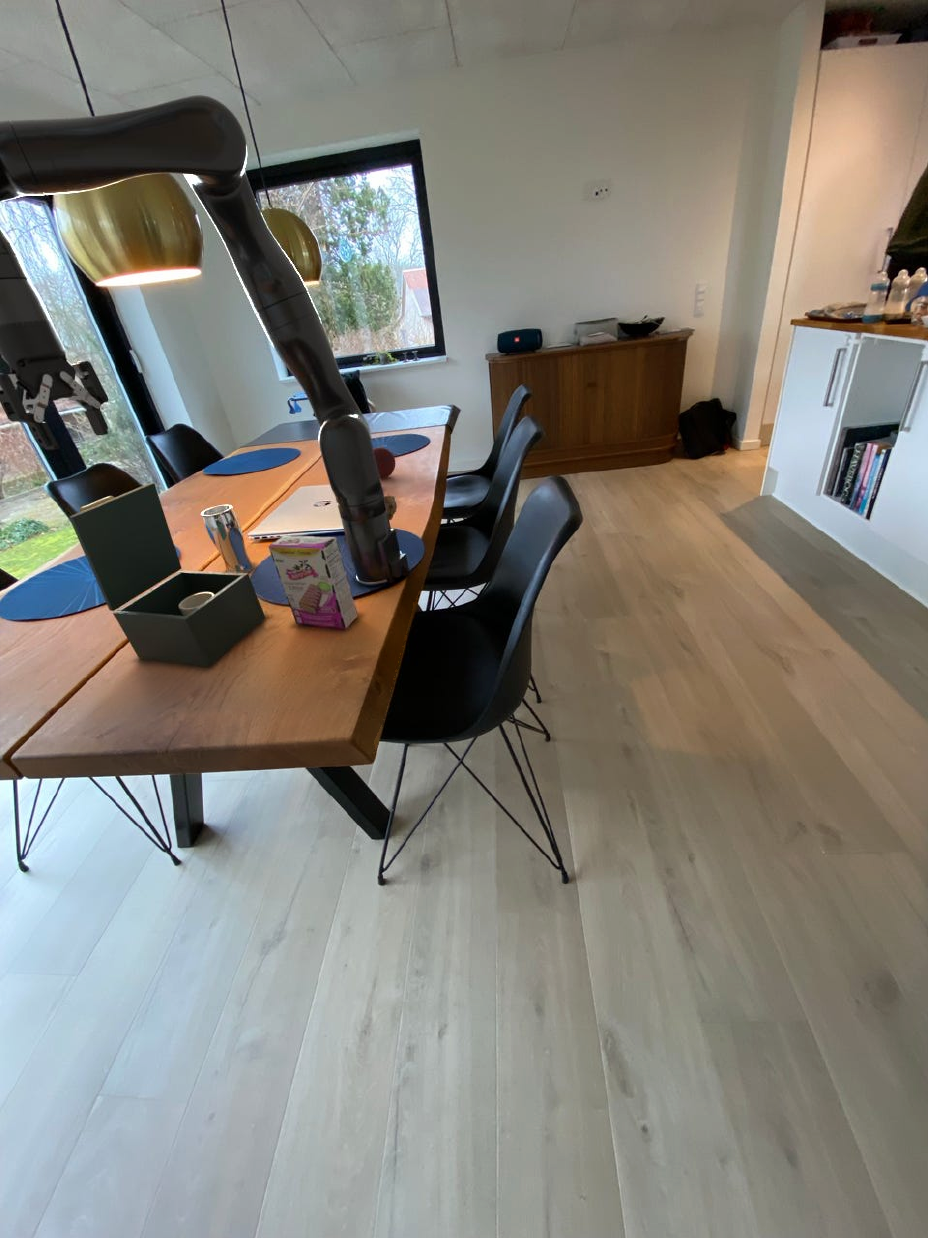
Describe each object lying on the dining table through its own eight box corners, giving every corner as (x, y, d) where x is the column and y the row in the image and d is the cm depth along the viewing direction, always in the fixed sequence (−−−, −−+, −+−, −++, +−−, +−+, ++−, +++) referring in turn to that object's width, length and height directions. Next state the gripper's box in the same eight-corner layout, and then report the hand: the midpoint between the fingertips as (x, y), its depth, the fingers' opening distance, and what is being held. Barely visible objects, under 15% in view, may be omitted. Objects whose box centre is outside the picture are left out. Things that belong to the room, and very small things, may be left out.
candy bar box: (295, 626, 96) (265, 546, 87) (309, 612, 99) (283, 534, 91) (346, 631, 92) (321, 547, 83) (359, 616, 96) (337, 535, 87)
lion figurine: (398, 524, 134) (391, 490, 129) (403, 530, 129) (396, 496, 125) (343, 538, 130) (334, 504, 126) (346, 545, 126) (337, 510, 121)
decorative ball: (364, 483, 170) (357, 452, 164) (374, 473, 178) (367, 444, 173) (393, 480, 168) (387, 450, 162) (401, 471, 176) (395, 441, 171)
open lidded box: (266, 618, 100) (248, 573, 94) (209, 668, 87) (185, 619, 82) (201, 613, 105) (181, 570, 100) (139, 659, 93) (112, 613, 87)
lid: (154, 482, 89) (129, 478, 91) (72, 517, 77) (44, 511, 78) (181, 568, 99) (158, 563, 101) (113, 611, 87) (87, 604, 88)
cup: (236, 627, 96) (221, 592, 92) (214, 645, 92) (197, 610, 88) (211, 625, 98) (195, 591, 94) (188, 643, 94) (171, 608, 90)
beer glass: (260, 562, 124) (238, 503, 116) (247, 576, 118) (223, 514, 110) (234, 564, 125) (210, 505, 117) (220, 578, 119) (193, 517, 111)
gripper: (-19, 321, 64) (52, 453, 72) (83, 314, 75) (134, 429, 83) (-56, 328, 66) (16, 455, 74) (48, 320, 77) (101, 431, 86)
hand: (78, 441), depth 79 cm, fingers open, 8 cm apart
